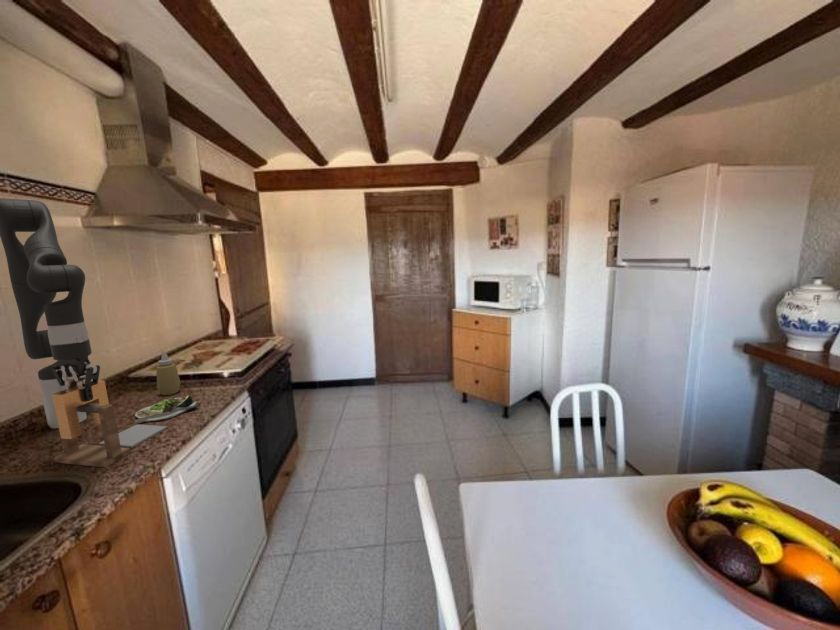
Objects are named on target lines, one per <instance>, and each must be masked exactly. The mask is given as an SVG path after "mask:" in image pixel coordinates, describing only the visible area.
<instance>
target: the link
mask: <svg viewBox="0 0 840 630" xmlns="http://www.w3.org/2000/svg"><path fill="white" fill-rule="evenodd" d="M84 384H85V382H84ZM91 388H92V393H93V399H92V400H90V401H87V402H83V401H82V396H81V391H80V387H79V385H78V386H75V387H72V388H69V389H66V390H63V391H60V392H57V393H54V394H52V398H53V403H54V407H55V412H56V416H57V421H58V426H59V428H58V431H59V430H60V432H59V435H61V436H60V439H61V438H64V439H73V438H76V437H77V438H78V437H80V436H82V435H83V433H82V429H81V424H80V423H81V422H80V423H79V418H78V414H77V409H76V407H78V406H80V405H83V404H84V405H87V404H88V403H89V405H98V406H104V405H107V404H109V405H110V403H109V398H108V396H109V395H108V392H107V387H106V382H105V380H100V379H98V384H96V385H93V386H92V387H91ZM91 416H92V422H93V425H100V426H101V423H100V418H99V413H91Z"/></svg>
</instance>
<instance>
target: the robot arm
mask: <svg viewBox="0 0 840 630" xmlns="http://www.w3.org/2000/svg"><path fill="white" fill-rule="evenodd" d="M16 233H32V234H31V235H29V237H28V238H26V240H25V241H24V245H23V243H22V242H21V241H20V240H19V238H18V237H17V234H16ZM0 240H1V243H2V246H3V250H4V253H5V257H6V263H7V267H8V274H9V280H10V283H11V288H12V292H13V295H14V296H13V297H14V299H15V303H16V306H17V310H18V314H19V317H20V323H21V331H22V338H23V344H24V350H25V352H26V354H27V356H28V357H29V358H30V359H31V360H40V359H46V358H52V359H53V360H55V362H54V363H52V364H50V365H47V366H45V367H43V368H41V369H39V370H38V372H37V377H38V381H39V384H40V389H41V394H42V398H43V399H42V404H43V409H44V414H45V417H46V422H47V426H48V427H49V428H50V429H59V427H58V423H57V418H56V413H55V409H54V403H53V398H52V394H54V393H57V392H60V391H63V390H66V389H69V388H72V387H75V386H78V385H79V387H80V391H81V396H82V401H83V402H87V401H90V400H92V399H93V393H92V388H91V387H92V386H93V385H96V384H98V380H100V379H99V378H100V372H101V371H100V369H101V365H99V364H96V365H94V364H91V361H90V359H89V356H91V355H92V351H93V350H92V346H91V342H90V337H89V331H88V327H87V326H86V325H87V324H86V322H85V317H84V312H83V302H82V301H83V294H84V288H85V284H86V275H85V272H84V271H83V269H82V268H80V266H78V265H76V264H68V260H67V257H66V256H65V254H64V252H63V250H62V248H61V247H60V244H59V241H58V236H57V231H56V228H55V224H54V221H53V216H52V215H51V212H50V210H49V208H48V206H47V205H46V204H45V203H44V202H42V201H39V200H35V199H22V198H2V197H1V198H0ZM66 292H68V293H67V296H65V297H64V298H63V299H58V300H55V299H56V296H57V293H66ZM54 300H55V301H54ZM43 315H45V320H46V325H47V329H43V330H38V325H39V323H40V320H41V318H42V317H43ZM84 383H85V384H84ZM83 405H85V404H83ZM77 414H78V418H79V423H82V422H84V421H85V420H86V419H87V418H88V417H87V412H77Z"/></svg>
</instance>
